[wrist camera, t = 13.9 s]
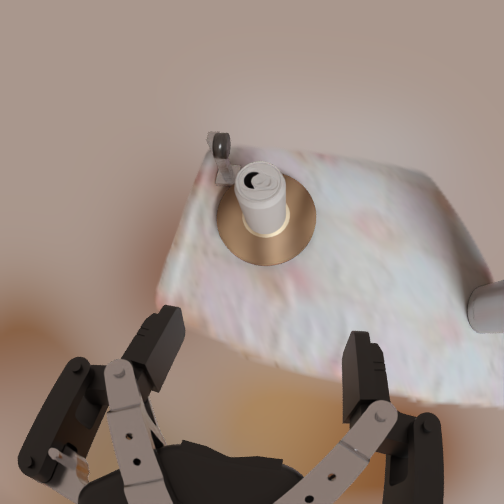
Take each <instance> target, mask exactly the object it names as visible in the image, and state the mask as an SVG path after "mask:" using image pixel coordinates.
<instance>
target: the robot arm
mask: <svg viewBox="0 0 504 504" xmlns="http://www.w3.org/2000/svg"><path fill="white" fill-rule="evenodd" d="M468 319H469V323H470V325H471V327H472V328H473V330H474V331H476V332H477V333H504V280H501V281H498V282H494V283H491V284H487V285H483V286H480V287H478V288H476V289H475V290H474V291H473V293H472V295H471V297H470V299H469V303H468ZM184 337H185V326H184V321H183V317H182V312H181V309H180V308H179V307H175V306H170V305H164V306H163V307H162V309H161V310H160V312H159V313H158V314H156V313H153V314H152V315H151V316H149V317H148V318H147V319H146V320H145V321H144V323H143V324H142V326H141V328H140V329H139V331H138V332H137V335H136V336H135V337H134V338H133V340H132V342H131V343H130V345H129V347H128V348H127V350H126V351H125V353H124V355H123V356H122V357H121V359H116V360H114V361H111V362H110V363H109V364H108V365H106V366H104V365H90V363H89V362H88V360H86V359H85V358H83V357H76V358H73V359H71V360H70V361H69V362H68V363H67V365H66V367H65V368H64V370H63V371H62V373H61V375H60V376H59V378H58V380H57V381H56V383H55V385H54V386H53V388H52V390H51V392H50V394H49V395H48V397H47V399H46V401H45V402H44V404H43V406H42V408H41V410H40V412H39V414H38V415H37V417H36V419H35V421H34V423H33V425H32V427H31V429H30V431H29V433H28V435H27V437H26V440H25V442H24V444H23V446H22V448H21V450H20V453H19V455H18V465H19V468H20V469H21V471H22V472H23V473H24V474H25V475H27V476H29V477H30V478H33V479H34V480H36V481H37V482H39V483H41V484H43V485H46V486H48V487H50V488H52V489H53V490H55V491H56V492H58V493H60V494H61V495H63V496H64V497H66V498H67V499H69V500H71V501H73V502H74V503H76V504H333V503H334V502H335V501H336V500H337V499H338V498H339V497H340V496H341V495H342V494H343V493H344V492H345V490H346V489H347V488H348V487H349V486H350V485H351V484H352V483H353V482H354V481H355V479H356V478H357V477H358V476H359V474H360V473H361V472H362V471H363V470H364V469H365V467H366V466H367V465H368V463H369V461H370V458H371V456H372V455H373V454H374V453H375V452H379V453H383V454H386V468H385V483H384V493H383V502H382V504H443V496H444V464H443V446H442V433H441V424H440V421H439V419H438V418H437V417H436V416H435V415H434V414H432V413H422V414H420V415H419V416H418V417H414V416H410V415H406V414H403V413H400V412H398V411H397V410H396V408H395V407H394V406H393V404H391V402H390V398H389V390H388V382H387V375H386V372H385V370H386V369H385V364H384V356H383V352H382V350H381V349H380V347H379V346H378V344H377V343H370V337H369V333H368V332H365V331H352V332H351V334H350V337H349V339H348V342H347V344H346V347H345V349H344V352H343V357H342V382H343V423H350V430H349V432H348V433H347V434H346V435H345V436H344V437H343V438H342V440H341V441H340V442H339V443H338V444H337V445H336V446H335V447H334V448H333V449H332V450H331V451H330V452H329V453H328V455H327V456H326V457H325V458H324V459H323V460H322V461H321V462H320V463H319V464H318V465H317V466H316V467H315V468H313V469H312V470H311V471H310V472H309V473H308V474H307V475H306V476H305V477H303V476H302V474H300V473H299V472H298V471H296V470H295V469H293V468H291V467H289V466H287V465H284V464H282V462H283V459H274V458H267V457H260V456H253V457H228V456H225V455H223V454H221V453H219V452H217V451H214V450H213V449H211V448H209V447H207V446H204V445H200V444H196V443H192V442H189V441H185V440H182V443H181V444H176V445H167V444H166V442H165V439H164V437H163V435H162V434H161V431H160V429H159V427H158V424H157V421H156V417H155V415H154V412H153V408H152V405H151V402H150V399H149V394H150V392H151V390H152V391H155V392H158V393H159V391H160V389H161V387H162V385H163V383H164V381H165V379H166V376H167V374H168V372H169V370H170V368H171V366H172V364H173V361H174V359H175V357H176V355H177V353H178V351H179V349H180V347H181V345H182V342H183V340H184ZM108 406H110V411H109V412H107V420H108V425H109V429H110V434H111V438H112V442H113V446H114V450H115V454H116V458H117V461H118V465H119V468H120V469H118V470H116V471H114V472H111V473H109V474H107V475H105V476H103V477H101V478H99V479H96V480H94V481H92V482H90V483H89V481H88V475H89V473H90V472H89V467H88V463H87V461H86V460H85V459H86V456H87V454H88V452H89V449H90V447H91V444H92V442H93V440H94V437H95V435H96V433H97V430H98V428H99V426H100V424H101V421H102V419H103V417H104V415H105V412H106V410H107V408H108Z"/></svg>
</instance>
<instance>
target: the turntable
mask: <svg viewBox="0 0 504 504" xmlns="http://www.w3.org/2000/svg"><path fill="white" fill-rule="evenodd" d="M282 175H283V177H284V179H285V182H286V218H285V222H284V224H283V225H282V227H281V228H280V229H279V230H277V231H276V232H273V233H271V234H259V233H257V232H255V231H253V230H252V229H251V228H250V227H249V226H248V225H247V223H246V220H245V217H244V215H243V212H242V210H241V207H240V205H239V202H238V200H237V197H236V194H235V190H234V185H235V183H234V184H233V185H232V186H231V187H230V188H229V189H228V190H227V192H226V193H225V194H224V196H223V198H222V199H221V202H220V204H219V207H218V211H217V227H218V231H219V234H220V236H221V239H222V241H223V242H224V244H225V245H226V246H227V248H228V249H229V250H230V251H231V252H232V253H233V254H234V255H235V256H237V257H238V258H240V259H241V260H243V261H245V262H248V263H251V264H254V265H260V266H271V265H277V264H281V263H284V262H287V261H289V260H291V259H293V258H294V257H295V256H297V255H298V254H299V253H300V252H302V251H303V250H304V248H305V247H306V246H307V244H308V243H309V241H310V240H311V237H312V235H313V232H314V229H315V224H316V210H315V205H314V202H313V200H312V198H311V196H310V194H309V193H308V191H307V190H306V189H305V187H304V186H303V185H301V184H300V183H299V182H298V181H296V180H295V179H293V178H291V177H289V176H287V175H284V174H282Z"/></svg>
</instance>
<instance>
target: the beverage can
mask: <svg viewBox="0 0 504 504" xmlns="http://www.w3.org/2000/svg"><path fill="white" fill-rule="evenodd" d="M234 190H235V194H236V197H237V200H238V202H239V205H240V207H241V210H242V212H243V215H244V217H245V220H246V223H247V225H248V226H249V227H250V228H251V229H252V230H253V231H255V232H257V233H259V234H271V233H273V232H276V231H277V230H279V229H280V228H281V227H282V225H283V224H284V222H285V218H286V182H285V179H284V177H283V175H282V174H281V172H280V171H279V170H278V168H277V167H275V166H274V165H272V164H270V163H268V162H263V161H258V162H252V163H250V164H248V165H246V166H244V167H243V168H242V169H241V170H240V171H239V173H238V175H237V177H236V181H235V185H234Z"/></svg>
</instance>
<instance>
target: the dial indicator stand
mask: <svg viewBox="0 0 504 504" xmlns="http://www.w3.org/2000/svg"><path fill="white" fill-rule="evenodd" d="M207 143H208V145H209V147H210V149H211V152H212V154H213V156H214V159H215V161H216V163H217V165H218V168H219V169H218V173H217V178H216V182H215V184H216V186H232V185H233V184H234V183H235V181H236V177H237V175H238V173H239V171H240V170H241V165H231V163H230V161H229V158H228V157H229V154H230V136H229V134H228V133H219V132H209V133H208V137H207Z"/></svg>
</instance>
